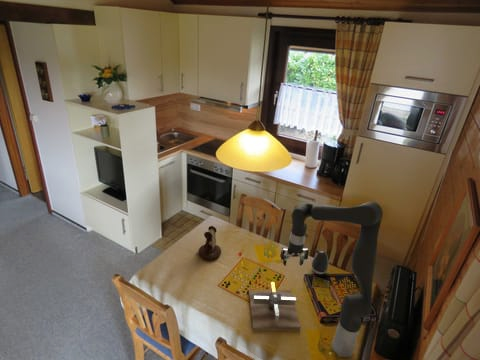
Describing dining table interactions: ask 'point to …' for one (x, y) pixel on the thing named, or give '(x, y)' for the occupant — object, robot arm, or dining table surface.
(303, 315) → the dining table surface
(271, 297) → the capstan
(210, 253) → the dark brown tall figurine
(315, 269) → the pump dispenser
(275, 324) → the level stand
